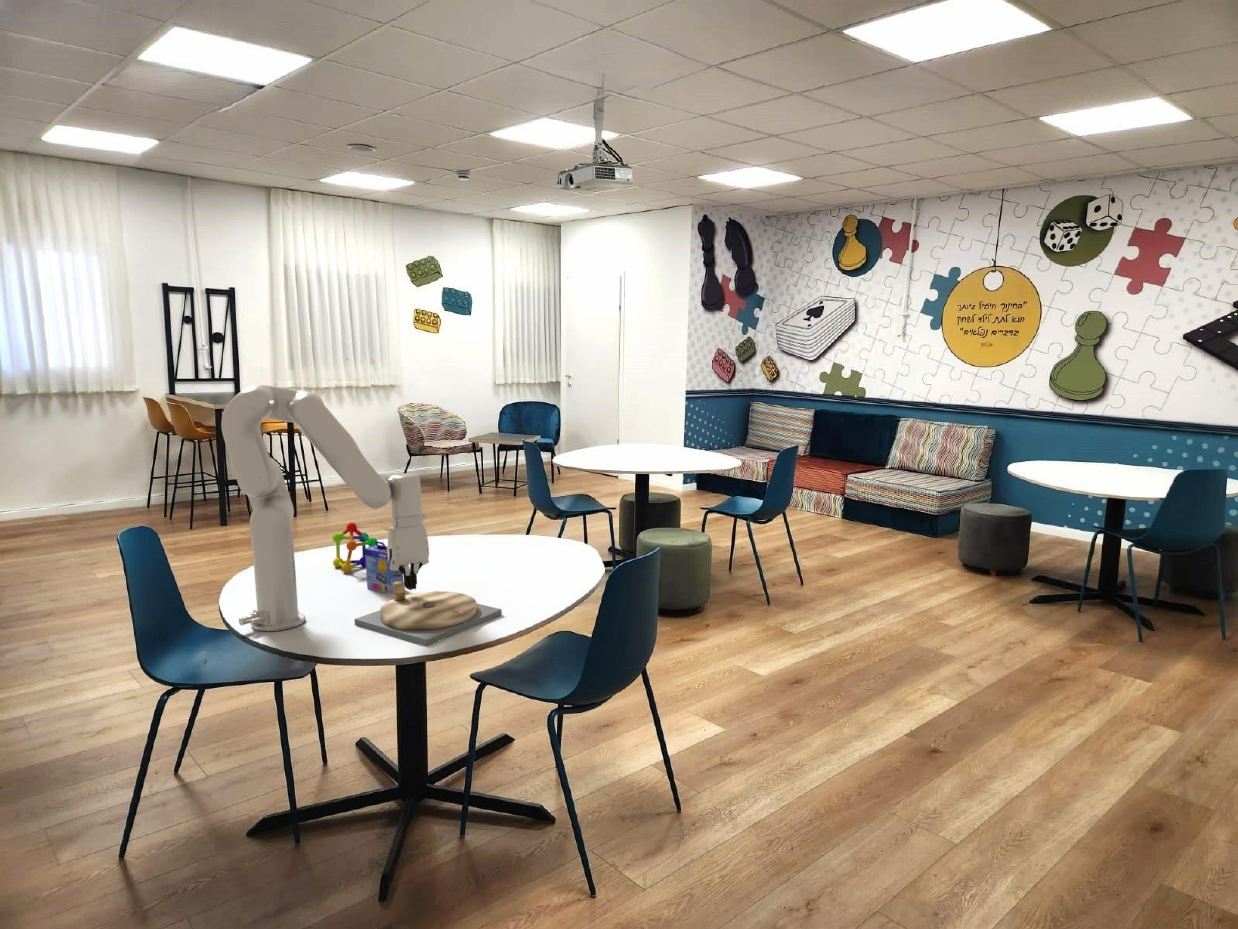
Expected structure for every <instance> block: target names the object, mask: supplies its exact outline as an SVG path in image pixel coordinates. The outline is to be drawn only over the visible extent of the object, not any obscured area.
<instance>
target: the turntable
mask: <svg viewBox="0 0 1238 929" xmlns="http://www.w3.org/2000/svg"><path fill="white" fill-rule="evenodd" d="M392 594H393V599H390V600H388V601H386V602H385V603H384V604H383V605H381V607H380V608H379V610H380V616H381V621H382V622H383V623H384V624H386V625H388V626H391V627H394V628H399V629H406V630H429V629H438V628H444V627H449V626H453V625H457V624H460V623H463V622H465V621H467V620H469V619H471V618H472V617H473V616H474V615H475V614H476V612H477V606H476V603H477V599H475V597H472V596H471V595H469V594H464V593H461V592H456V591H455V592H454V591H440V590H439V591H424V592H417V593H409V594H406V587H405V582H404V580H403V581H398V582H394V583H393V593H392Z"/></svg>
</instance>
